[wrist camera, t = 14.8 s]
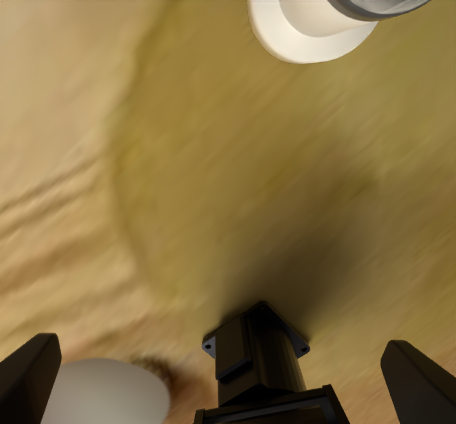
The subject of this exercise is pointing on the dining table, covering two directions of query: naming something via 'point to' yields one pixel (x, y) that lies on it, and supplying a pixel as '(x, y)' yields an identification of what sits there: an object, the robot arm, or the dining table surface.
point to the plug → (319, 25)
